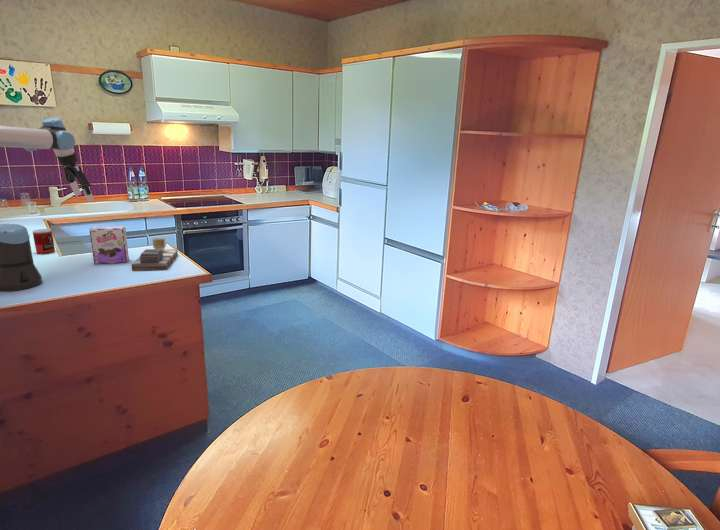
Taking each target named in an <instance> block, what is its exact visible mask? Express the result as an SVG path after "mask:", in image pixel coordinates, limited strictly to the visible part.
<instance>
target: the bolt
mask: <svg viewBox="0 0 720 530" xmlns="http://www.w3.org/2000/svg"><path fill="white" fill-rule="evenodd" d="M166 246H167V243H166V238H165V237H157V238H155V237H154V238H153V239H152V247H153V248H152V249H162V252H163V251H164V250H166V249H165V248H166Z"/></svg>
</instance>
